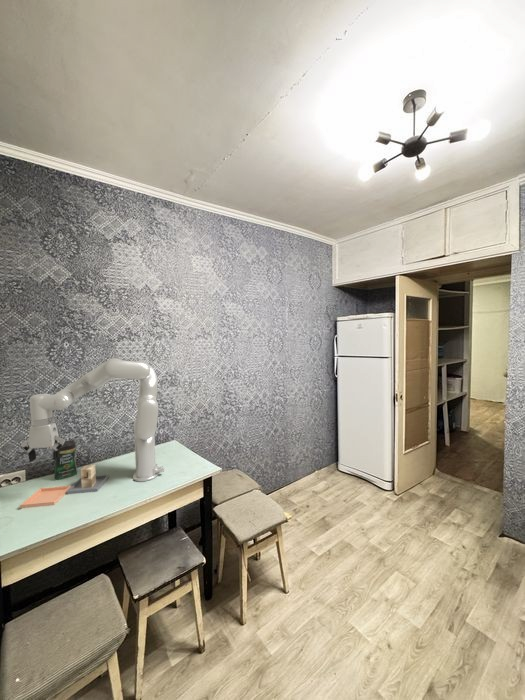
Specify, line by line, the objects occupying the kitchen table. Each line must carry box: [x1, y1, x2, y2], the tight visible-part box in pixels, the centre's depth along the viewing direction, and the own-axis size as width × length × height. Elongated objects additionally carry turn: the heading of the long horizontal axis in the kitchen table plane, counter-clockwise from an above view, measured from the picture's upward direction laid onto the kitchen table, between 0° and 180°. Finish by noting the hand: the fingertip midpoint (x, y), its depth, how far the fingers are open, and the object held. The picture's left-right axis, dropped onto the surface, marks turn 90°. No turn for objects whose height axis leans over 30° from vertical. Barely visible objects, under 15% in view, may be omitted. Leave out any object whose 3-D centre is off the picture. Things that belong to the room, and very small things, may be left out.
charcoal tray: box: [66, 474, 110, 495], centre depth 134 cm, size 13×13×2 cm
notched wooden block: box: [80, 464, 97, 488], centre depth 134 cm, size 4×5×9 cm
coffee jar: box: [54, 439, 78, 481], centre depth 144 cm, size 10×8×19 cm
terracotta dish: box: [19, 485, 72, 510], centre depth 124 cm, size 13×13×2 cm
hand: (44, 459), depth 124 cm, fingers open, 9 cm apart
